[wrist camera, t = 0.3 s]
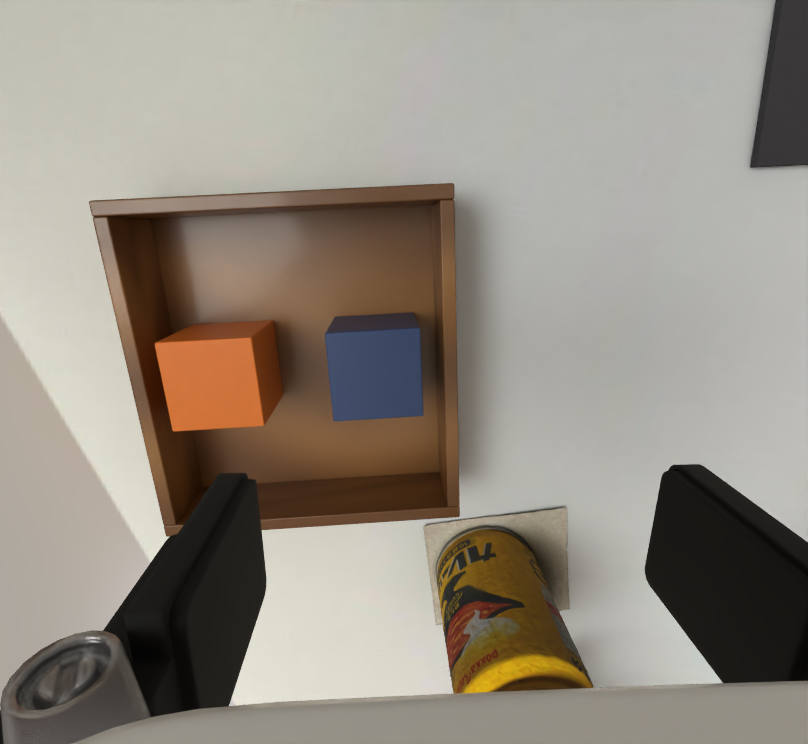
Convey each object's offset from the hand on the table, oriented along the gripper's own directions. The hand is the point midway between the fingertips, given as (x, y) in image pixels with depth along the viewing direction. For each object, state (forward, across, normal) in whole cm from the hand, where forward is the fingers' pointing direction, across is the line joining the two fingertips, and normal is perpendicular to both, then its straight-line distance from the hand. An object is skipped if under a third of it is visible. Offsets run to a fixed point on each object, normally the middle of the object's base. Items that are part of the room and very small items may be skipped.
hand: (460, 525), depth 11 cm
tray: (+14, +6, 0) cm, 15 cm away
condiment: (+15, -5, +13) cm, 20 cm away
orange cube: (+14, +9, 0) cm, 17 cm away
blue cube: (+14, +2, 0) cm, 14 cm away
